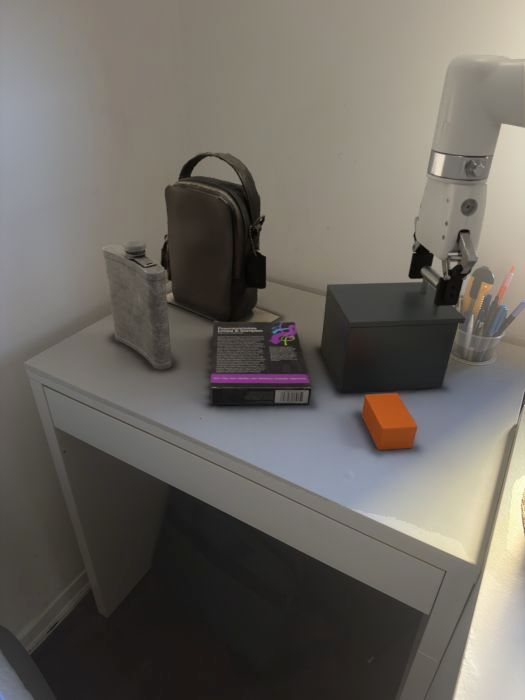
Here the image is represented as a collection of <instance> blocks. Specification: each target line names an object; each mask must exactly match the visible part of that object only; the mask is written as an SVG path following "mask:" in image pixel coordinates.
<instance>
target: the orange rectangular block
mask: <svg viewBox="0 0 525 700" xmlns="http://www.w3.org/2000/svg"><path fill="white" fill-rule="evenodd" d="M361 417H362V419H363V421H364V424H365V425H366V428H367V430H368V432H369V434H370V436H371V438H372V440H373V441H374V444H375V446H376V448H377V450H378V451H386V450H400V449H412V448H413V446H414V442H415V439H416V434H417V430H418V424H417V423H416V421H415V420H414V418H413V416H412V415H411V413H410V411H409V410H408V409H407V407H406V405H405V403H404V402H403V400H402V398H401V397H400V395H399V394H398V392H390V393H372V394H371V393H370V394H364V399H363V404H362V411H361Z"/></svg>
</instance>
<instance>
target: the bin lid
mask: <svg viewBox="0 0 525 700" xmlns="http://www.w3.org/2000/svg"><path fill="white" fill-rule="evenodd" d="M421 275H422V276H423V279H422V281H406V282H405V281H404V282H403V281H402V282H373V283H372V282H371V283H369V282H368V283H335V284H333V283H331V284H330V283H329V284H326V291H327V290H328V292H329V294H330V295H331V297H332V299H333V301H334V302H335V304H336V306H337V307H338V309H339V311H340V313H341V314H342V316H343V318H344V319H345V321H346V323H347V325H348V326H349V328H352V327H378V326H404V325H430V324H456V323H458V324H465V323H466V317H465V316H464V315H463V314H462V313H461V312H460V311H459V310H458V309H457V308H456V307H455V306H454V305H450V306H436V305H435V304H434V300H435V295H436V291H437V287H438V282H439V278H440V277H443V275H441V274H440V273H439V272H437V271H436V270H435V268H433V267H431V266H428V265H427V266H424V267H423V268H422V269H421Z"/></svg>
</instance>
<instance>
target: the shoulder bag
mask: <svg viewBox="0 0 525 700" xmlns="http://www.w3.org/2000/svg"><path fill="white" fill-rule="evenodd" d="M208 157H210V158H217V159H219V160H220V161H223V162H225V163H226V164H227V165H229V166H230V167H231V168H232V169H233V170H234V172H235V174H236V176H237V177H238V179H239V182H240V184H239V183H235V182H231V181H228V180H223V179H219V178H215V177H210V176H204V175H194V176H192V174H193V171H194V169H195V167H196V166H197V165H198V164H199V163H200V162H201V161H202V160H204V159H205V158H208ZM164 201H165V207H166V216H167V217H166V218H167V221H166V222H167V223H166V224H167V233H166V234H164V237H163V238H164V241H163V242H164V243H163V245H162V247H161V248H160V251H161V252H160V263H159V264H160V265H161V266H162V267H163V268H164V269H165V271H166V273H167V274H166V276H167V277H166V278H167V280H168V282H169V281H170V282H171V292H169V293H166V294H167V303H170V304H172V305H175V306H178V307H180V308H182V309H185V310H187V311H189V312H192V313H195V314H197V315H200V316H202V317H204V318H206V319H209V320H212V321H213V322H214V321H216V322H275V320H277V319H279V318H280V316H279V315H276V314H274V313H272V312H269V311H266V310H263V309H260V308H257V307H256V306H257V303H258V292H259V290H264V289H266V288H267V255H266V254H263V253H262V252H261V251H260V248H261V247H260V243H261V241H260V240H261V239H260V237H261V232H262V230H263V227H262V226H264V223H265V221H266V215H265V214H262V215H261V196H260V194H259V192H258V190H257V186H256V181H255V180H254V177H253V175H252V172H251V171H250V170H249V169H248V167H247V166H246V164H244V162H243V161H241V160H240V159H239V158H238V157H236V156H234V155H232V154H231V153H229V152H226V153H225V152H212V151H209V150H205V151H201V152H197V153H195V156H193V157H192V158H190V159H189V160H188V161H186V162H185V163H184V164H183V166H182V168H181V170H180V172H179V175H178V180H177V181H176V182H175V183H173V184H171V183H169V184H167V185H166V186H165V188H164Z"/></svg>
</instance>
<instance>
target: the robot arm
mask: <svg viewBox="0 0 525 700" xmlns="http://www.w3.org/2000/svg"><path fill="white" fill-rule="evenodd" d="M502 124H503V125H508V126H513V127H519V128H523V129H525V58H510V57H508V56H505V55H497V54H496V55H495V54H494V55H493V54H460V55H458V56H455V57H454V58H452V59H451V60H450V62H449V63H448V65H447V68H446V72H445V76H444V82H443V86H442V91H441V98H440V102H439V107H438V111H437V117H436V122H435V128H434V134H433V139H432V144H431V149H430V152H429V153H430V154H429V160H428V164H427V170H426V175H425V176H426V178H427V180H426V183H425V187H424V190H423V194H422V198H421V201H420V205H419V210H418V214H417V216H415V217H414V232H413V234H412V238H413V242H414V243H413V244H412V247H411V249H412V250H411V251H412V255H411V259H410V265H409V269H408V275H407V276H408V279H410V280H423V276H422V275H421V269H422V268H423V267H424V266H427V265H428V266H431V267H432V266H433V262H434V256H435V257H436V258H438V259H439V260H440V261H441V267H442V270H441V271H442V277H440V278H439V282H438V287H437V291H436V295H435V300H434V304H435V305H436V306H450V305H452V306H456V305H458V303H459V299H460V296H461V291H462V288H463V285H464V281H465V280H466V279H467V277H468V276H469V275H470V274H471V272H472V270H473V268H474V266H476V264H477V262H478V260H479V256H478V253H477V252H478V249H479V244H480V239H481V234H482V229H483V223H484V219H485V213H486V206H487V197H488V184H487V183H488V180H489V179H488V178H489V175H490V171H491V168H492V163H493V160H494V156H495V155H494V154H495V151H496V147H497V143H498V140H499V136H500V131H501V129H502ZM451 263H457V264H456V265H454V266H453V267H452V266H451ZM451 267H452V268H451ZM432 268H433V267H432Z"/></svg>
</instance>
